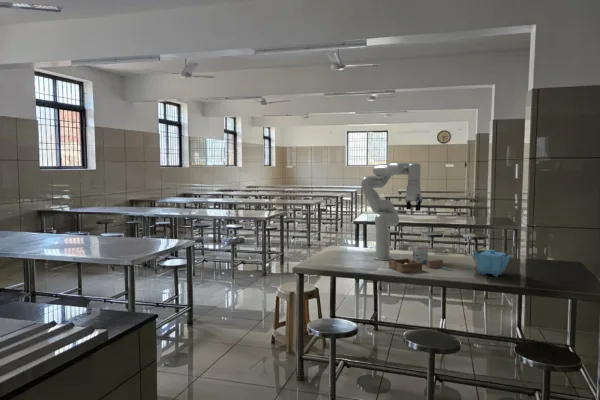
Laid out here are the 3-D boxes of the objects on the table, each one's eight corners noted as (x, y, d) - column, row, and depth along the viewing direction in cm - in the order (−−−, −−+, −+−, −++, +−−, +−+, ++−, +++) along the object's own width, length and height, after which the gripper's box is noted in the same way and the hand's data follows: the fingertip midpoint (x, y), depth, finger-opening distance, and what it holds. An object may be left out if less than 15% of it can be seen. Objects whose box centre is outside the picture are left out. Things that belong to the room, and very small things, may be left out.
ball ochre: (402, 268, 285) (402, 262, 285) (406, 267, 287) (407, 262, 286) (405, 269, 282) (405, 263, 282) (410, 268, 283) (410, 263, 283)
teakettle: (497, 270, 285) (498, 247, 284) (514, 278, 266) (515, 252, 265) (468, 271, 283) (469, 247, 282) (483, 278, 264) (484, 253, 263)
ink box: (423, 262, 308) (424, 245, 307) (427, 264, 303) (428, 246, 302) (412, 263, 306) (412, 245, 305) (416, 264, 301) (416, 246, 300)
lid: (416, 267, 294) (416, 258, 294) (436, 266, 300) (436, 256, 299) (432, 273, 279) (432, 263, 279) (453, 271, 285) (453, 261, 285)
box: (389, 269, 285) (389, 260, 284) (407, 268, 290) (408, 258, 290) (402, 274, 272) (402, 264, 271) (421, 272, 277) (422, 263, 277)
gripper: (400, 182, 298) (400, 209, 299) (417, 183, 282) (416, 211, 283) (410, 182, 300) (409, 208, 302) (427, 183, 284) (426, 211, 286)
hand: (413, 210), depth 292 cm, fingers open, 9 cm apart
